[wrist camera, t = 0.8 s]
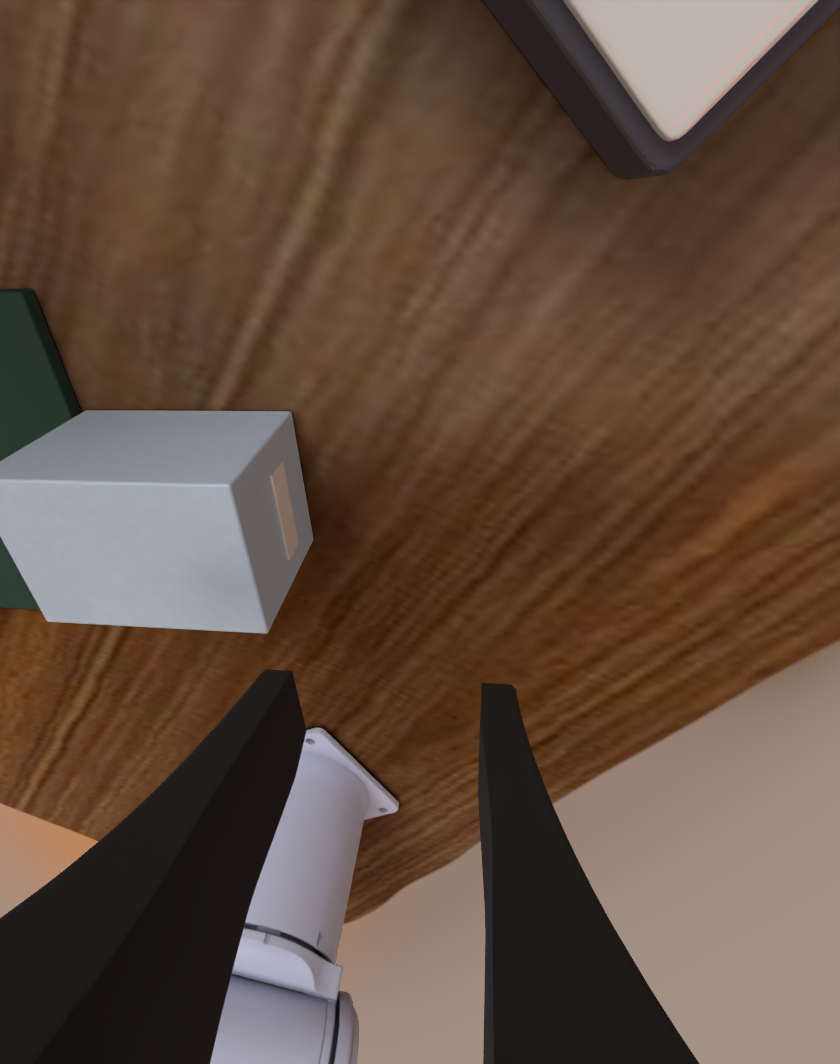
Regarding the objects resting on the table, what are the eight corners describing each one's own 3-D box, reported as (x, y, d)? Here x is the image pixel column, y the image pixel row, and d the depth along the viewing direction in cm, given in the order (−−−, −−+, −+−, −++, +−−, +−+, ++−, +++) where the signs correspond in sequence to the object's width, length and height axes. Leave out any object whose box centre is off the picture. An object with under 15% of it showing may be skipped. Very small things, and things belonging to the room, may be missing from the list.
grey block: (294, 410, 20) (232, 485, 15) (316, 539, 23) (270, 635, 18) (85, 408, 21) (-34, 479, 16) (134, 533, 24) (46, 622, 19)
